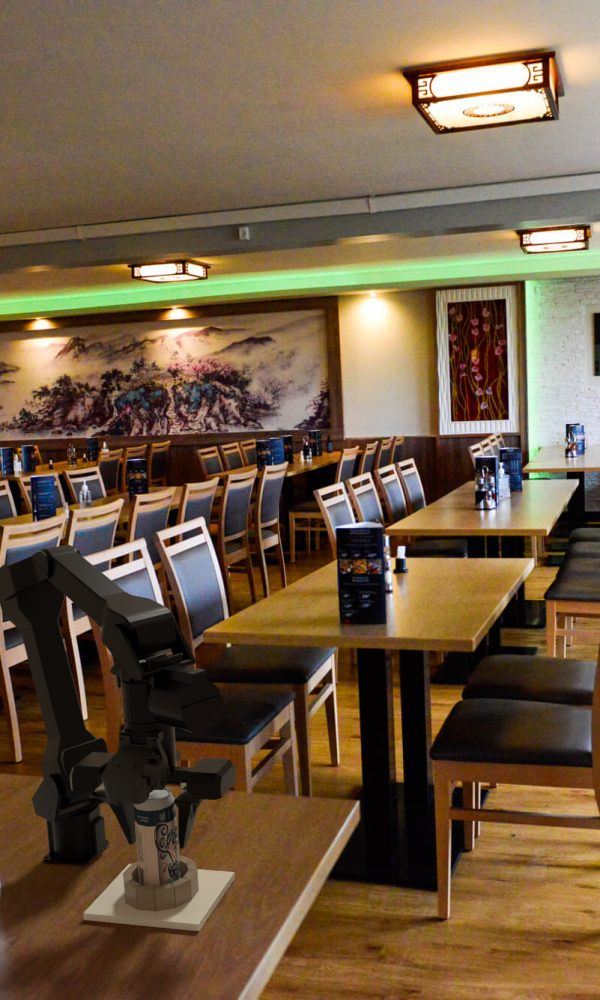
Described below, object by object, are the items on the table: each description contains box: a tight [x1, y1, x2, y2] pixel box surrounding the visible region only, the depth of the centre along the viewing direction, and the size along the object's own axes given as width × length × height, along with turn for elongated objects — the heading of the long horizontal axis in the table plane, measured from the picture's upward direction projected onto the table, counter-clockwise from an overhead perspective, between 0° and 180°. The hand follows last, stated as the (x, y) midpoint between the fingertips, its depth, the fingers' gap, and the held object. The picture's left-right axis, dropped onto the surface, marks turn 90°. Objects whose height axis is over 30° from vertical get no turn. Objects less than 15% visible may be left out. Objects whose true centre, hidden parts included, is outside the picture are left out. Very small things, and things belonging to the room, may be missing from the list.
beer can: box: [134, 787, 181, 886], centre depth 114 cm, size 5×5×12 cm
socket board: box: [83, 854, 236, 932], centre depth 114 cm, size 14×12×3 cm
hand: (157, 845), depth 114 cm, fingers open, 6 cm apart
